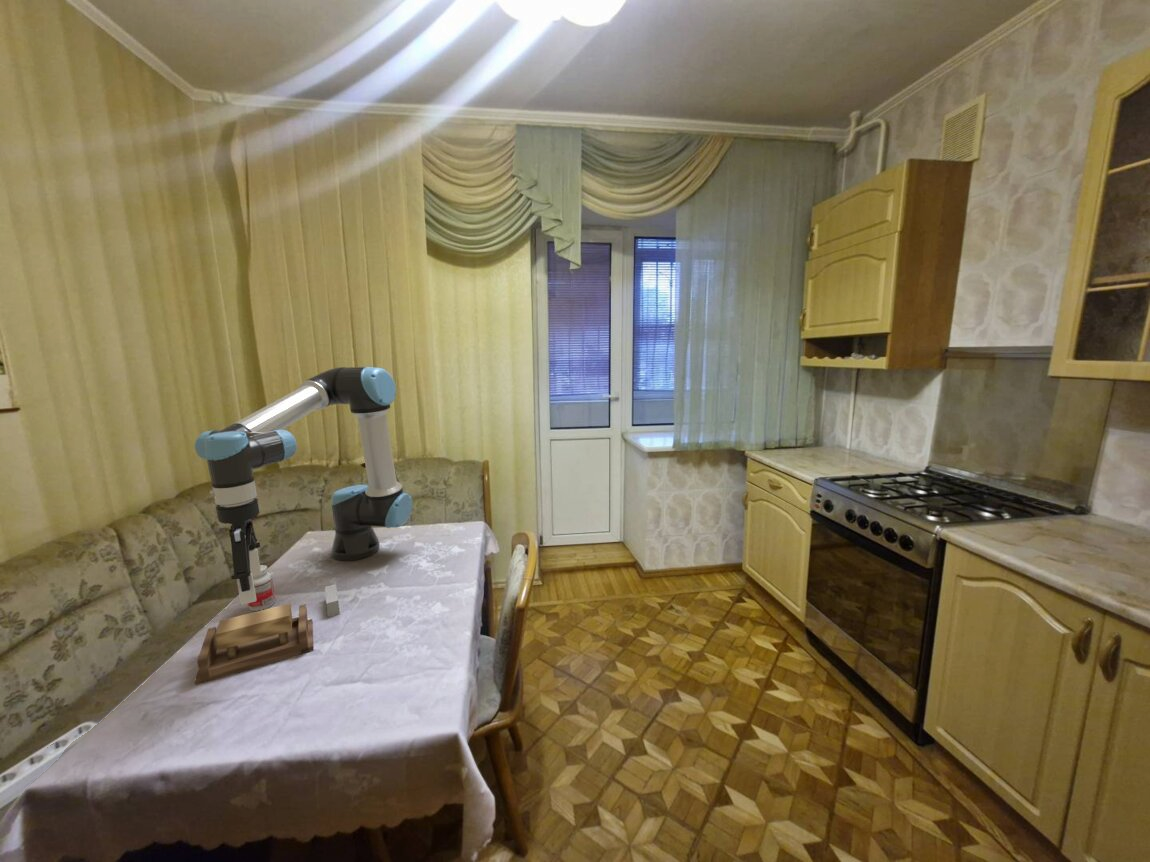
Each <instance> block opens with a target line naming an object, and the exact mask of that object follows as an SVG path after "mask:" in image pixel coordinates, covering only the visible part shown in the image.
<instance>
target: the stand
mask: <svg viewBox="0 0 1150 862" xmlns="http://www.w3.org/2000/svg"><path fill="white" fill-rule="evenodd" d="M324 590H325V591H324V592H325V603H326V610H327V617H328V618H331V617H334V616H338V615H341V614H340V613H341V611H340V606H339V605H340V603H339V597H338V596H339V595H338V589H337V583H336V584H331V585H326V586H324Z"/></svg>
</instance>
